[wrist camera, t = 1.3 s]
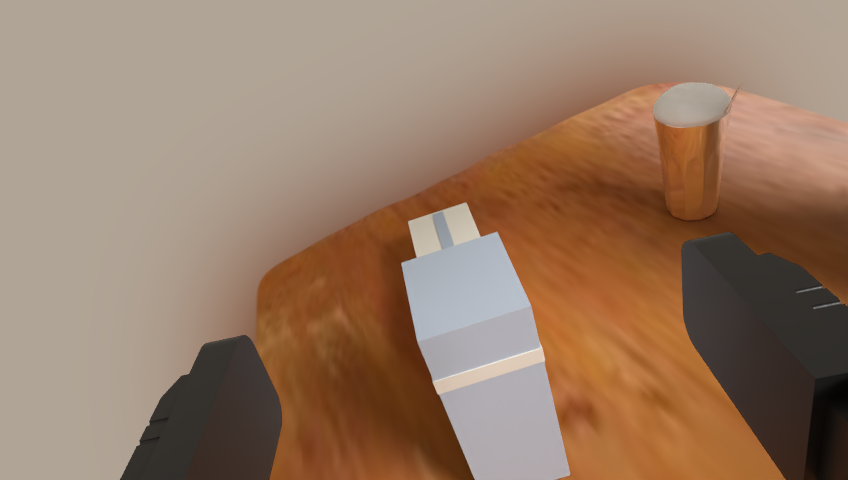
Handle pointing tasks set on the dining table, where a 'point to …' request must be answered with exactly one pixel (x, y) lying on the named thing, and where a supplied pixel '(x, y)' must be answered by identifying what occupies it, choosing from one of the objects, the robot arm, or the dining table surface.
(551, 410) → the tall grey box
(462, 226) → the white striped box
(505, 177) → the dining table surface
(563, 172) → the dining table surface
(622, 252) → the dining table surface
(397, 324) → the dining table surface
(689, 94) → the milkshake
